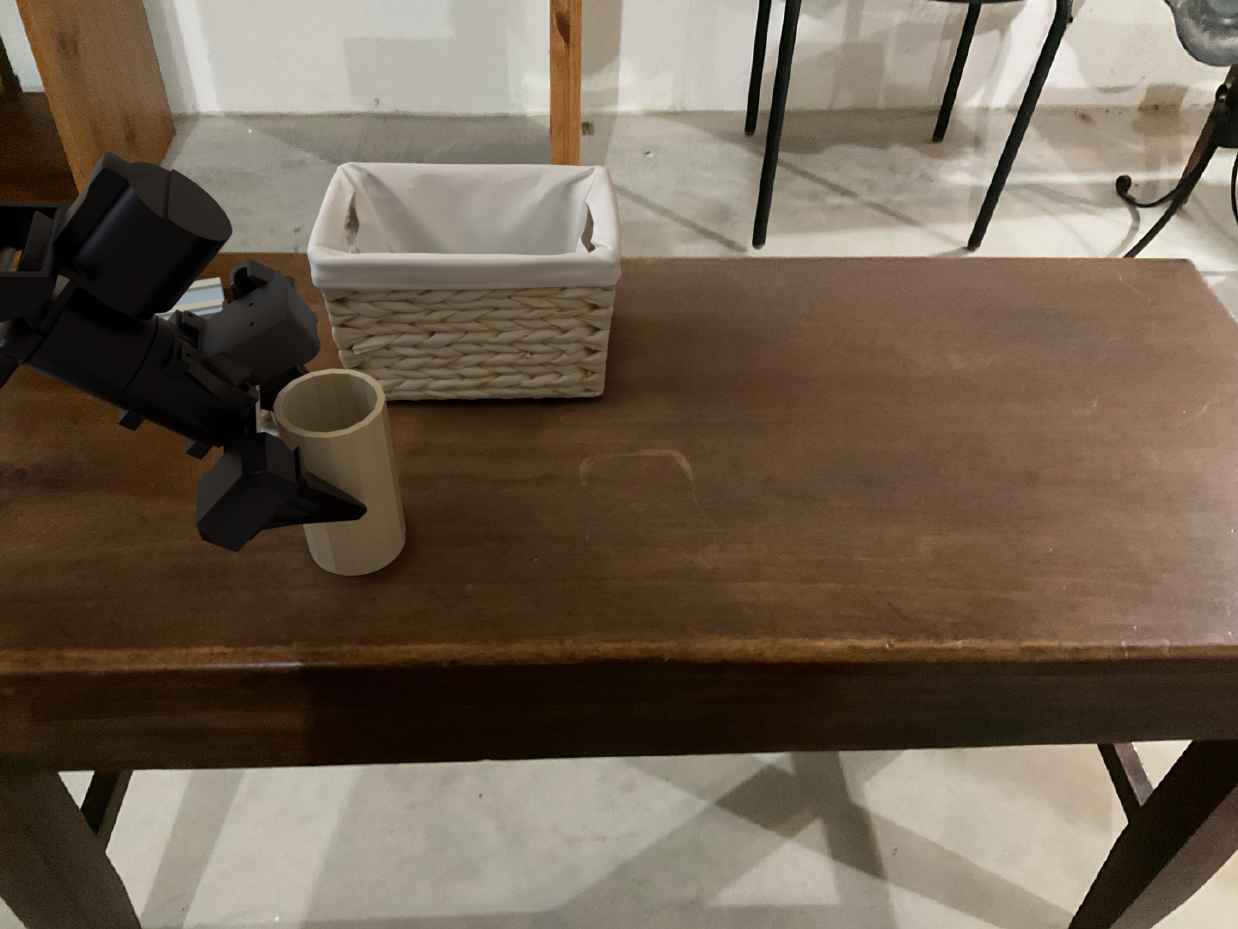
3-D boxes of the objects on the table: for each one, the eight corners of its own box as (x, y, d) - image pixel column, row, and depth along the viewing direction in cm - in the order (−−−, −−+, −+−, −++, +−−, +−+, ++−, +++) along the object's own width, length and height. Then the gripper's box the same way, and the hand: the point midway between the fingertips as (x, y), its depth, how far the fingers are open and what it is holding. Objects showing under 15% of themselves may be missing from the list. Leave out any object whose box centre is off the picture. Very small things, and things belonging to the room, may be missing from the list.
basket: (330, 411, 80) (298, 255, 69) (358, 301, 91) (334, 155, 81) (617, 410, 81) (626, 258, 71) (607, 304, 93) (614, 160, 83)
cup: (317, 586, 66) (281, 447, 57) (303, 519, 71) (267, 380, 62) (415, 561, 68) (394, 423, 59) (394, 497, 73) (372, 360, 64)
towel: (111, 341, 85) (105, 327, 84) (110, 305, 89) (105, 291, 88) (229, 321, 88) (225, 307, 87) (222, 287, 92) (219, 273, 91)
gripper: (209, 359, 45) (457, 485, 56) (212, 179, 58) (413, 308, 68) (85, 504, 49) (340, 598, 59) (114, 304, 62) (319, 409, 72)
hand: (356, 466), depth 65 cm, fingers open, 9 cm apart
